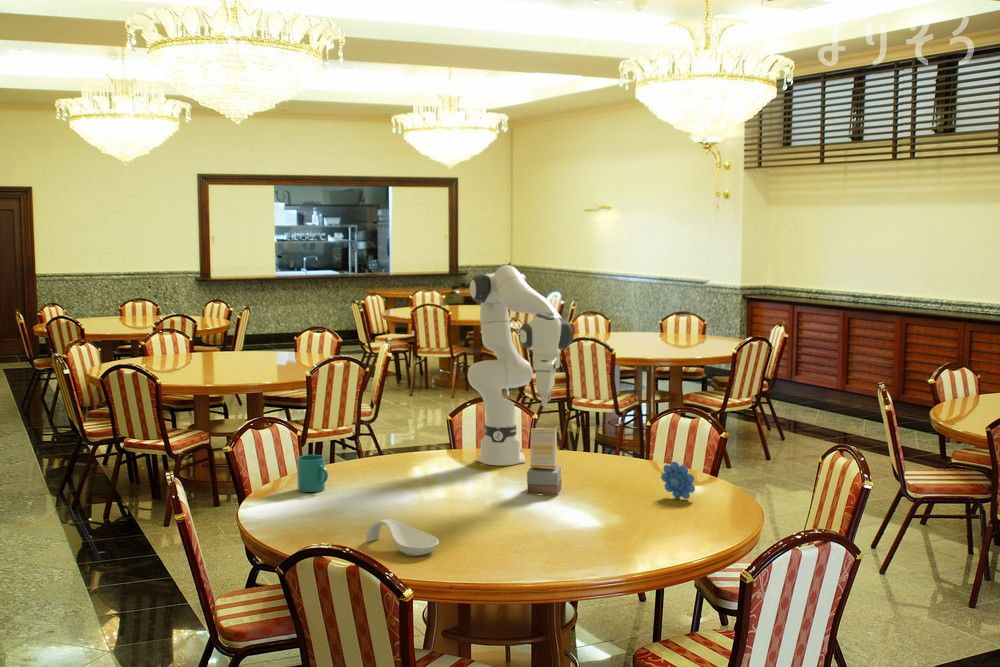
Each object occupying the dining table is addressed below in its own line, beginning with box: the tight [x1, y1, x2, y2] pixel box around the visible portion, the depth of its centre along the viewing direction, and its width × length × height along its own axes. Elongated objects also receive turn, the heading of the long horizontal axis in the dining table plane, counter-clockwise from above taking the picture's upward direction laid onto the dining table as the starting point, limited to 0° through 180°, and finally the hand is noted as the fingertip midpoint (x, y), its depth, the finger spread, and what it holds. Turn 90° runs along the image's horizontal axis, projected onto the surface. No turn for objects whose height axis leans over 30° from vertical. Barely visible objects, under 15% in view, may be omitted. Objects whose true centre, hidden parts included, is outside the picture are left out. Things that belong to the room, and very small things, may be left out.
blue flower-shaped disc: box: [660, 461, 696, 499], centre depth 324 cm, size 12×7×12 cm, turn 58°
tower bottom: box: [527, 477, 562, 496], centre depth 335 cm, size 10×10×4 cm
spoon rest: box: [365, 518, 440, 557], centre depth 273 cm, size 24×12×7 cm, turn 51°
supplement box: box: [530, 427, 558, 468], centre depth 335 cm, size 8×5×13 cm, turn 77°
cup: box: [296, 454, 329, 493], centre depth 336 cm, size 9×12×11 cm
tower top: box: [526, 465, 562, 485], centre depth 334 cm, size 10×10×4 cm
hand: (546, 403), depth 333 cm, fingers open, 8 cm apart
